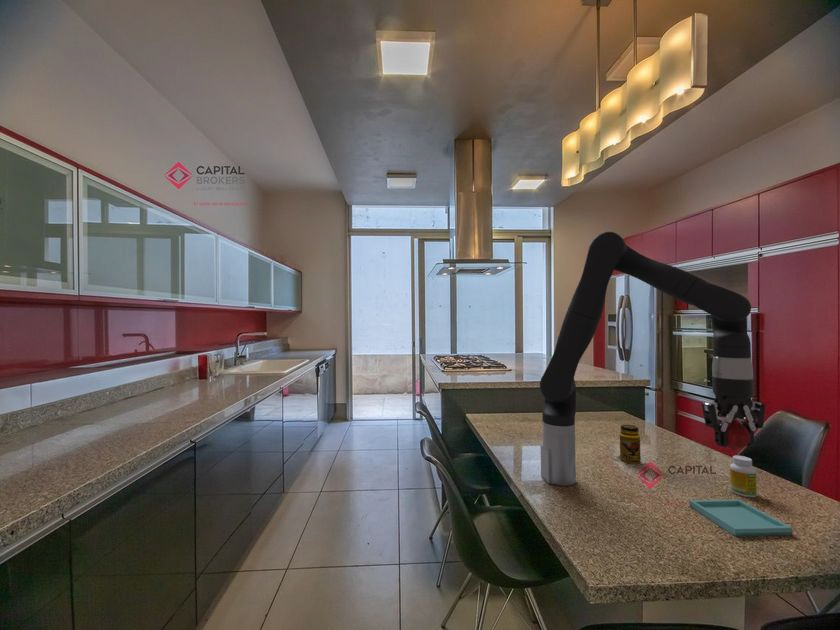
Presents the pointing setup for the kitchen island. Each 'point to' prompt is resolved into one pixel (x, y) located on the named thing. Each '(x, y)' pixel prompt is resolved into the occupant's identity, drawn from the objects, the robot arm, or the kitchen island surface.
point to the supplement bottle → (743, 477)
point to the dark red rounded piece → (737, 435)
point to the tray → (740, 518)
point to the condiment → (629, 446)
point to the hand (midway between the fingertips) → (734, 445)
